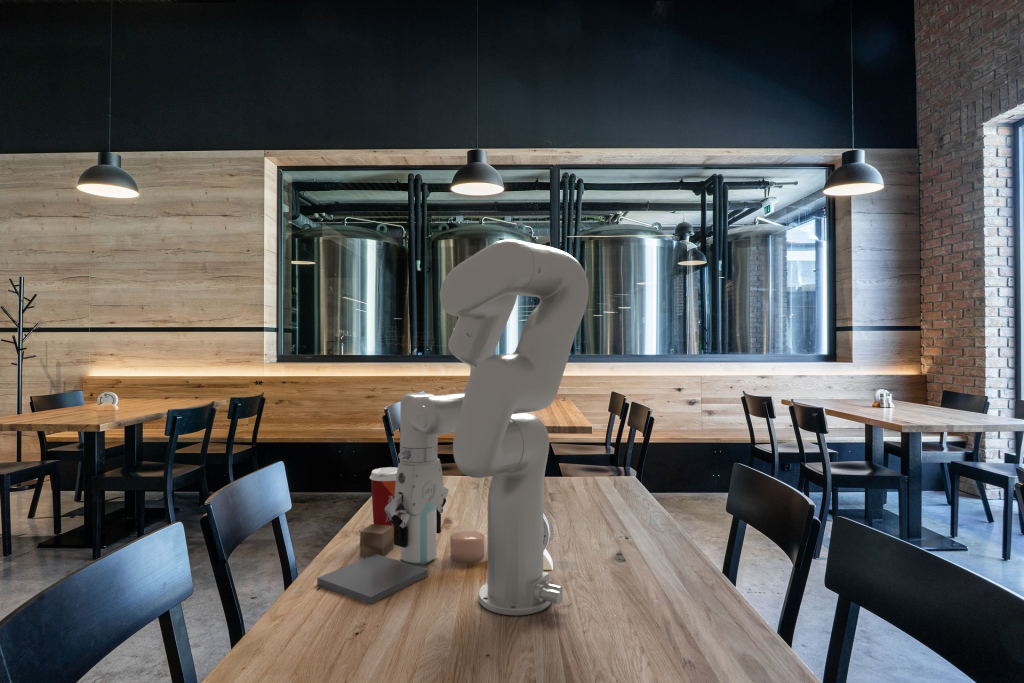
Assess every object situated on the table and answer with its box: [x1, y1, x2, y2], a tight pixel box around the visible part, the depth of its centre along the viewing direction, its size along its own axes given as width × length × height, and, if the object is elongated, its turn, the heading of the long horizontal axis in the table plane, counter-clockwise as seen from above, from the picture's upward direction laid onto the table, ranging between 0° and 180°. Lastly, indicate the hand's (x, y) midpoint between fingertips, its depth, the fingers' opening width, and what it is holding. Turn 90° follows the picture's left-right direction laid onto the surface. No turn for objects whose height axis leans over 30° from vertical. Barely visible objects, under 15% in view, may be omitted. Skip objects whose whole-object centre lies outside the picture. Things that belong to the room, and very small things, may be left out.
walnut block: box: [359, 523, 394, 557], centre depth 116 cm, size 5×5×5 cm
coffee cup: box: [369, 466, 401, 542], centre depth 125 cm, size 8×8×15 cm
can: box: [400, 501, 437, 566], centre depth 112 cm, size 7×7×12 cm
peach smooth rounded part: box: [449, 530, 486, 563], centre depth 114 cm, size 7×7×4 cm
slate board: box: [316, 554, 429, 605], centre depth 102 cm, size 14×14×1 cm
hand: (418, 538), depth 112 cm, fingers open, 9 cm apart
